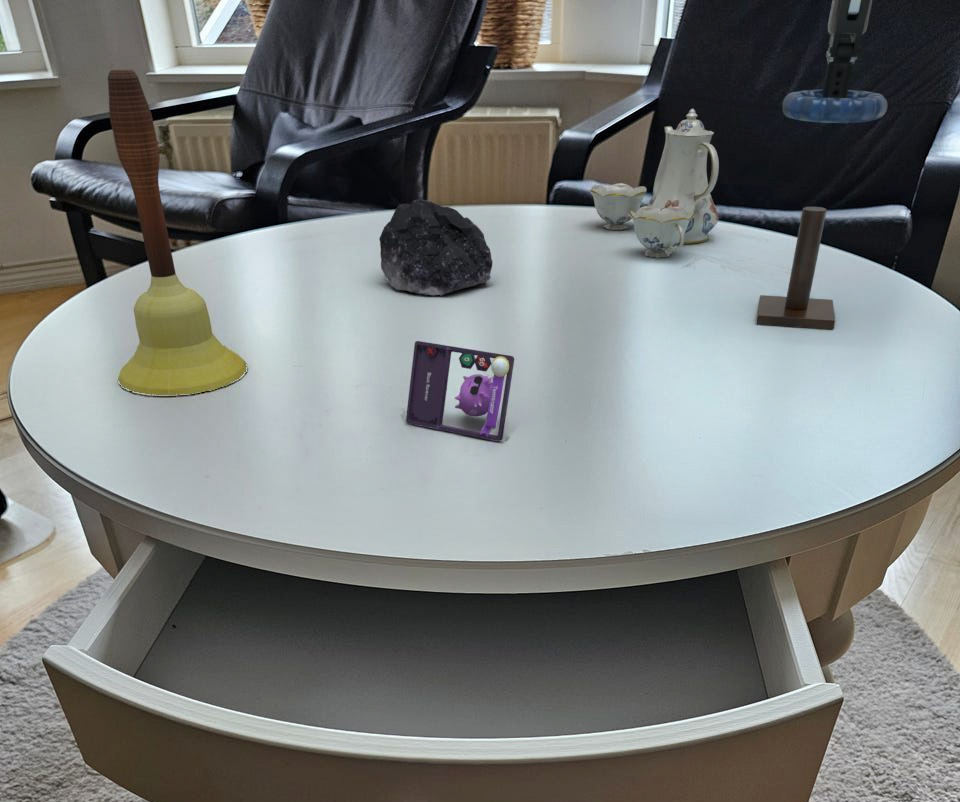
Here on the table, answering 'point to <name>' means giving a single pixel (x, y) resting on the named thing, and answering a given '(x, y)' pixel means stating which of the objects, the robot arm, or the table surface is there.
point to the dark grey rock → (433, 250)
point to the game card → (474, 391)
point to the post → (801, 283)
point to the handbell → (162, 271)
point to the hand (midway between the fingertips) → (831, 106)
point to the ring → (834, 107)
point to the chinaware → (668, 194)
